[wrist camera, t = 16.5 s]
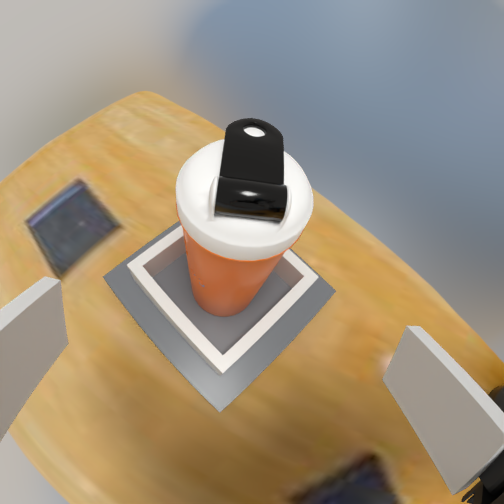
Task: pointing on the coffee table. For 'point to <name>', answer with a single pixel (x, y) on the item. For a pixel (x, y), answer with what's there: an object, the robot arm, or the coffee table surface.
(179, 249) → the holder
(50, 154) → the coffee table surface
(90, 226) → the coffee table surface
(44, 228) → the coffee table surface
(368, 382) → the coffee table surface
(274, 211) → the shaker bottle
